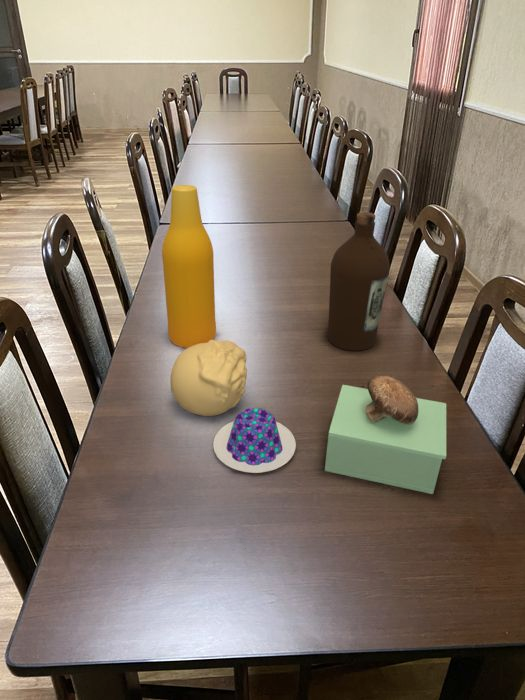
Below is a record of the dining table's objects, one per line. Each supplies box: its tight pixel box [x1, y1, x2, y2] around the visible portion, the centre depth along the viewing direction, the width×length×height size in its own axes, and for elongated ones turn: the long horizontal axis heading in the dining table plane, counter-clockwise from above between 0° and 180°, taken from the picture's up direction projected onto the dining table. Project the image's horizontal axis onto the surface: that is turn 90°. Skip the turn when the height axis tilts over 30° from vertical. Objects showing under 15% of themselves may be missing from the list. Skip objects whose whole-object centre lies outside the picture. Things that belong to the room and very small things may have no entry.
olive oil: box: [327, 211, 390, 352], centre depth 100 cm, size 11×11×25 cm
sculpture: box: [169, 339, 248, 417], centre depth 84 cm, size 11×12×11 cm
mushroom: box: [366, 375, 418, 425], centre depth 73 cm, size 8×8×6 cm
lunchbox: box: [324, 436, 443, 495], centre depth 76 cm, size 15×12×6 cm
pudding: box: [212, 407, 297, 474], centre depth 77 cm, size 12×12×5 cm
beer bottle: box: [161, 184, 217, 349], centre depth 98 cm, size 9×9×29 cm
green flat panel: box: [327, 384, 447, 460], centre depth 74 cm, size 15×12×1 cm
